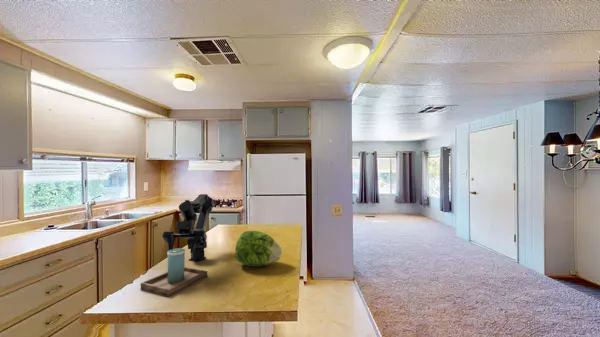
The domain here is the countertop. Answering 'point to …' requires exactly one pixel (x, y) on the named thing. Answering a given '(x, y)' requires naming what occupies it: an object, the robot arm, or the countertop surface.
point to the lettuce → (257, 249)
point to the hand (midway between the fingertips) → (180, 253)
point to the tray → (168, 289)
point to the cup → (175, 265)
